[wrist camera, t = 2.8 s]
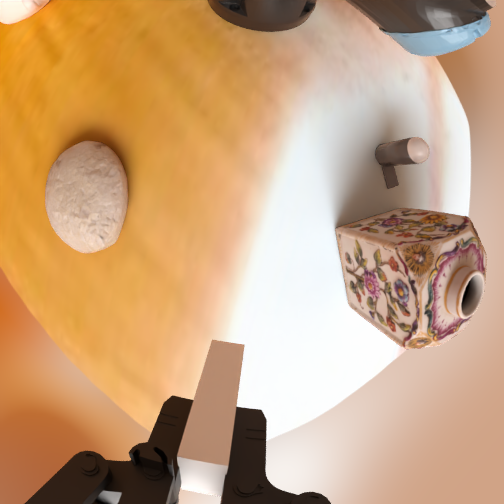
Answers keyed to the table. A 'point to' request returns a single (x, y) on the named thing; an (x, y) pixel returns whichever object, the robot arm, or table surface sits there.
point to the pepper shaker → (402, 152)
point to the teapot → (19, 9)
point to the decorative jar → (413, 274)
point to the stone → (87, 196)
